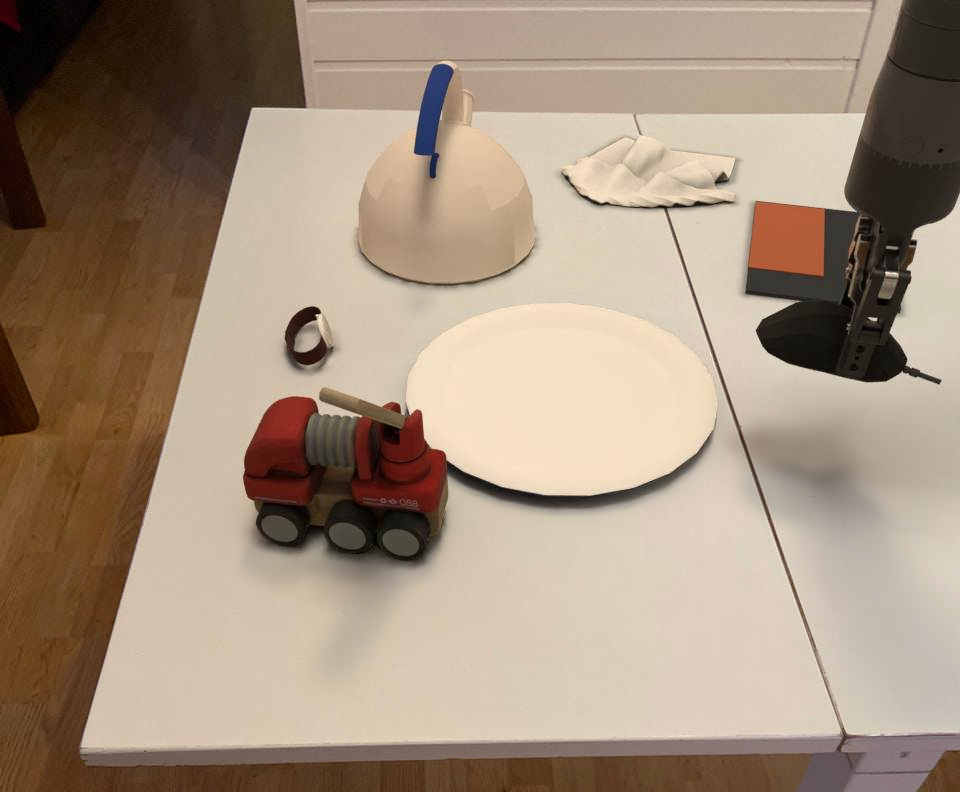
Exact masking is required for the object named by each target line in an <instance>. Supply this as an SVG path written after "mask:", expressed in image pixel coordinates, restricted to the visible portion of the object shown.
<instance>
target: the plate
mask: <svg viewBox="0 0 960 792" xmlns="http://www.w3.org/2000/svg"><path fill="white" fill-rule="evenodd" d="M719 404H720V403H719V399H718V395H717V391H716V386H715V382H714V378H713V376H712V375H711V373H710V372H709V370H708V369H707V368H706V366H705V365H704V363H703V362H702V360H701V359H700V357H699V356H698V354H697V353H696V352H694V351H693V350H692V349H691V348H689V347H688V346H687V345H686V344H685V343H684V342H683V341H681V340H680V339H679V338H678V337H676V336H675V335H674V334H672V333H670V332H668V331H666V330H664V329H662V328H661V327H659V326H657V325H655V324H653V323H651V322H650V321H647V320H645V319H642V318H639V317H636V316H633V315H630V314H627V313H624V312H621V311H618V310H614V309H611V308H606V307H601V306H594V305H587V304H580V303H575V302H574V303H573V302H572V303H571V302H536V303H529V304H528V303H527V304H521V305H514V306H508V307H500V308H498V309H494V310H491V311H489V312H485V313H482V314H479V315H476V316H473V317H469V318H467V319H465V320H463V321H461V322H460V323H458V324H456V325H454V326H453V327H451V328H449V329H447V330H446V331H444V332H442V333H440V334H439V335H438V336H437V337H435V339H434V340H432V342H431V343H429V344H428V346H426V347H425V348H424V349H423V350H422V351H421V352H420V353H419V355H418V356H417V358H416V361H415V362H414V364H413V366H412V367H411V370H410V372H409V373H408V376H407V382H406V392H405V405H406V408H407V410H408V414H409V416H410V415H411V414H412V413H413V412H414V411H415V410H416V409H418V410H421V412H422V416H423V430H424V439H425V440H426V442H427V443H428V446H429V448H430V449H438V450H442V451H444V452H445V454H446V459H447V464H450V465H451V466H452V467H454V468H456V469H457V470H458V471H459V472H461V473H463V474H465V475H468V476H469V477H473V478H475V479H477V480H480V481H482V482H485V483H487V484H489V485H492V486H495V487H497V488H500V489H504V490H507V491H514V492H519V493H524V494H530V495H533V496H540V497H548V498H549V497H550V498H551V497H553V498H592V497H598V496H605V495H608V494H615V493H620V492H626V491H632V490H635V489H637V488H640V487H642V486H645V485H647V484H649V483H652V482H656V481H657V480H660V479H663V478H665V477H668V476H669V475H671V474H672V473H673V472H675V471H677V470H678V469H679V468H680V467H682V466H683V465H684V464H686V463H687V462H688V461H690V460H691V459H693V458H694V457H696V455H698V453H699V451H701V448H702V447H703V446H704V444H706V442H707V440H708V439H709V437H710V436H711V434H712V433H713V431H714V428H715V424H716V419H717V418H716V417H717V412H718V410H719V409H718V408H719Z"/></svg>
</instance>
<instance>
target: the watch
mask: <svg viewBox="0 0 960 792" xmlns="http://www.w3.org/2000/svg"><path fill="white" fill-rule="evenodd" d="M315 321H316V322H317V326H318V327H317V328H318V331H319V333H320V339H319V342H318V343H317V344H316V345H315V347H313V348H312V349H309V350H306V351H296V350H295V347H294V346H295V343H296V336H297V335H298V333H299V331H300V330H301V329H302V328H303V327H305V326H306V325H307V324H310V323H312V322H315ZM284 341H285V344H286V345H287V347H288V349H289V351H290V354H291V355H292V357H293V359H294V361H295V362H296V363H297V364H300V365H301V366H312V365H315V364H317V363H320V362H321V360H323V359H324V358H325V356H326V354H327V352H328V350H329V349H331V348H332V347H333V346H334V345H335V343H334V337H333V333H332V329H331V326H330V324H329V322H328V320H327V318H326V316H325V314H323V313H322V311H321V308H319V307H318V306H315V305H311V306H306V307H304V308H302V309H301V310H299V311H298V312H296V313H295V314H294V315H292V317H291V318H290V320H289V321H288V323H287V326H286V329H285V331H284Z"/></svg>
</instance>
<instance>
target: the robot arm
mask: <svg viewBox="0 0 960 792" xmlns="http://www.w3.org/2000/svg"><path fill="white" fill-rule="evenodd" d="M882 63H883V64H882V66H881V67H880V68H881V69H880V71H879V73H878V75H877V78H876V80H875V83H874V85H873V88H872V91H871V93H870V97H869V100H868V104H867V108H866V111H865V114H864V117H863V121H862V125H861V129H860V132H859V135H858V138H857V142H856V146H855V148H854V152H853V156H852V159H851V163H850V167H849V170H848V173H847V177H846V181H845V184H844V188H843V190H844V198H845V200H846V202H847V204H848V205H849V206H850V207H851V208H852V209H853V210H854V212H858V213H860V216H859V218H858V221H857V223H856V227H855V233H854V236H853V240H852V243H851V245H850V248H849V249H848V253H847V254H848V263H849V265H848V267H847V268H846V271H845V273H846V278H848V279H851V280H847V281H846V284H845V287H844V291H843V294H842V297H841V300H840V303H839V304H841V305H844V306H847V307H849V308H851V309H852V310H851V314H850V318H849V323H847V325H846V330H847V332H846V335H845V338H844V341H843V344H842V347H841V350H840V353H839V357H838V360H837V363H836V366H835V373H836V375H837V376H836V377H840V378H843V377H847V378H846V379H848V378H855V379H859V378H862V377H863V376H864V375H865V373H866V370H867V367H868V364H869V361H870V359H871V356H872V353H873V350H874V347H875V345H876V344H877V345H885V343H886V340H888V337H889V333H890V334H891V330H892V327H893V325H894V323H895V320H896V317H897V315H898V313H899V312H898V310H899V307H900V305H901V306H902V302H903V300H904V297H905V294H906V293H907V290H908V287H909V285H910V284H911V282H912V279H913V277H912V271H911V270H909V269H908V267H909V266H911V264H912V263H913V262H914V258H915V255H916V250H917V247H918V246H917V245H918V239H914V238H913V236H914V233H915V230H917V229H919V228H921V227H923V226H926V225H933V224H935V223H938V222H941V221H942V220H944V219H945V218H947V217H948V216H949V215H950V214H951V213H952V212H953V210H954V209H955V207H956V205H957V203H958V200H959V197H960V0H901V4H900V7H899V10H898V14H897V17H896V20H895V25H894V28H893V31H892V35H891V39H890V42H889V46H888V50H887V52H886V56H885V58H884V61H883V62H882ZM866 318H869V319H870V318H872V319H876V320H872V321H870V320H871V319H870V320H865V319H866Z"/></svg>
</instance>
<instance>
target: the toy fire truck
mask: <svg viewBox="0 0 960 792" xmlns="http://www.w3.org/2000/svg"><path fill="white" fill-rule="evenodd" d="M318 400H319V401H320V402H321V403H324V404H328V405H330V406H333V407H335V408H338V409H341V410H343V411H347V412H350V413H353V414H356V415H355V416H352V417H351V416H350V415H347V414H346V415H343V416H341V415H340V414H333V415H331V414H328V413H324V414H320V410H319V407H318V403H317V401H316V400H315V399H314V398H312V397H308V396H307V397H306V396H298V395H296V396H295V395H293V396H287V397H284V398H280V399H278V400H276V401H274V402H273V403H272V404H271V405H270V406H268V408H267V409H266V410H265V412H264V413H263V415H262V417H261V419H260V421H259V423H258V425H257V428H256V429H255V432H254V434H253V436H252V438H251V440H250V442H249V444H248V447H247V448H246V450H245V453H244V458H243V467H244V471H243V475H242V481H243V486H244V491H245V495H246V497H247V498H248V499H249V500H251V501H252V502H253V504H254V508H255V510H256V512H257V513H258V514H257V516H256V519H255V525H256V528H257V530H258V532H259V534H260V535H261V536H262V537H264V539H266V540H268V541H269V542H271V543H273V544H276V545H278V546H284V547H291V546H292V547H293V546H295V545H298V544H299V543H300V542H302V541H303V540H304V538H305V535H306V533H307V530H308V527H309V525H310V526H319V527H323V534H324V538H325V539H326V542H328V543H329V544H330V545H331V546H332V547H333V548H335V549H337V550H338V551H340V552H343V553H347V554H361V553H363V552H366V551H368V549H370V548H371V547H372V545H373V543H374V540H375V536H376V540H377V544H378V545H379V548H381V550H382V551H383V552H384V553H385V554H386V555H388V556H390V557H392V558H395V559H397V560H404V561H412V560H415V559H417V558H420V557H421V556H422V555H424V553H425V551H426V548H427V545H428V543H429V538H430V537H433V536H435V535H437V534H438V533H439V532H440V529H441V526H442V524H443V523H442V522H443V518H444V515H445V512H446V508H447V503H448V499H449V479H448V476H447V475H448V462H447V459H446V454H445V452H444V451H442V450H438V449H431V448H430V447H429V446H428V443H427V442H426V440H425V439H424V430H423V416H422V412H421V410H418V409H416V410H415V411H414V412H413V413H412V414H411V415H410V414H409V415H404V414H402V409H401V404H400V403H398V402H397V401H389V402H387V403H385V404H384V405H382V406H381V405H378V404H375V403H372V402H370V401H366V400H364V399H361V398H358V397H356V396H352V395H349V394H347V393H344V392H341V391H338V390H335V389H332V388H330V387H327V386H323V387H322V388H321V389H320V391H319V394H318Z"/></svg>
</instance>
